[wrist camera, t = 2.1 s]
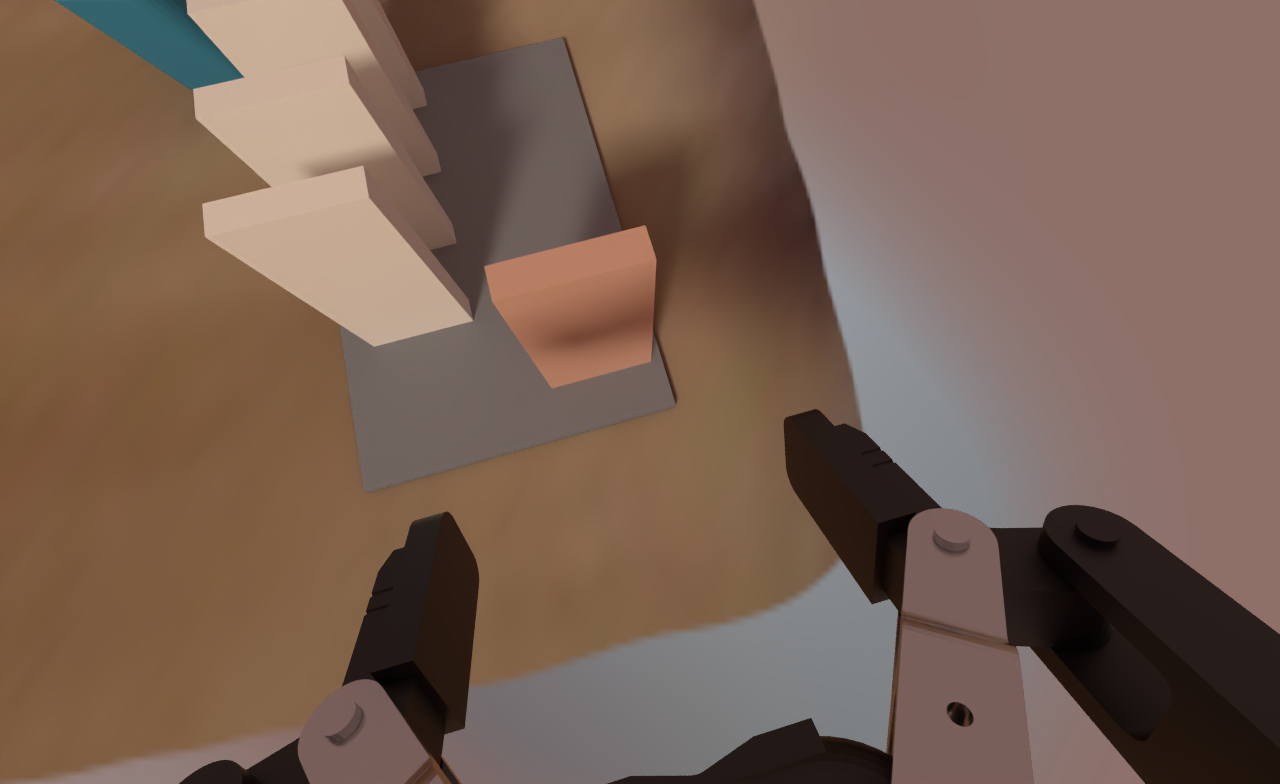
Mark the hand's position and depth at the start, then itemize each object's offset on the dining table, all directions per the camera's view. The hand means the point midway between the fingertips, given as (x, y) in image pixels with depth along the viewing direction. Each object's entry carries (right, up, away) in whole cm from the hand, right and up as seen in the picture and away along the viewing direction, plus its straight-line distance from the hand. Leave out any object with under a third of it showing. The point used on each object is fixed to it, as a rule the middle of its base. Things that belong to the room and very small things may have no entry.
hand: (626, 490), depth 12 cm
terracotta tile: (-2, +4, +13) cm, 14 cm away
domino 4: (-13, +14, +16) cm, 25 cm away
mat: (-8, +10, +15) cm, 20 cm away
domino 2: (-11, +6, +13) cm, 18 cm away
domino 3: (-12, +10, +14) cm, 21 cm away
